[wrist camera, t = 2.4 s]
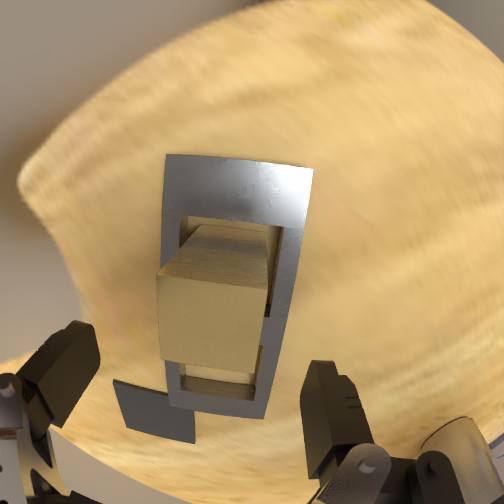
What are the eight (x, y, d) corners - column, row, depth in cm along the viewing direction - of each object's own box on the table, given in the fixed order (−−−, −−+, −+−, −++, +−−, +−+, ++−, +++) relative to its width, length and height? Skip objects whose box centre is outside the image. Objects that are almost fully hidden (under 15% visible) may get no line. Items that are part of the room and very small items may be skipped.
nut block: (265, 231, 19) (267, 289, 11) (257, 290, 21) (254, 373, 12) (201, 224, 19) (156, 274, 11) (198, 282, 21) (161, 359, 12)
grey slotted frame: (308, 168, 18) (313, 169, 16) (263, 404, 25) (263, 419, 23) (175, 154, 18) (166, 153, 16) (174, 391, 25) (169, 405, 23)
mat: (193, 398, 25) (193, 401, 25) (195, 441, 28) (194, 444, 27) (113, 379, 25) (112, 381, 25) (127, 425, 28) (126, 427, 27)
